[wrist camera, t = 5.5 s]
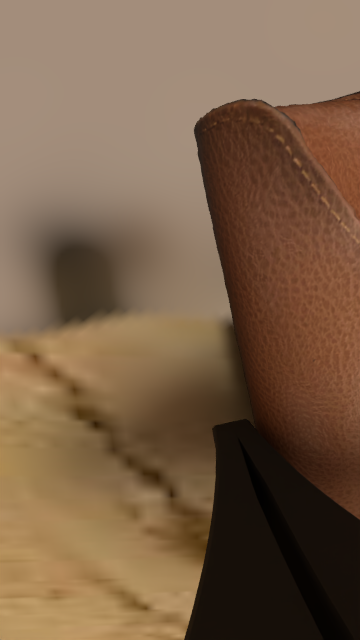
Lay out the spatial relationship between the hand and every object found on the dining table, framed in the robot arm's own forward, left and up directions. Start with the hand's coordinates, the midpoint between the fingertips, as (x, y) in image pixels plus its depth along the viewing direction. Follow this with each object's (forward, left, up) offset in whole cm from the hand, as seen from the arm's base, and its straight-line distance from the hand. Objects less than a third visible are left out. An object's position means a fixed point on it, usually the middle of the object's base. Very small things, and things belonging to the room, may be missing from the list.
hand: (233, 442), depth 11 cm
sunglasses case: (+2, -5, -2) cm, 6 cm away
